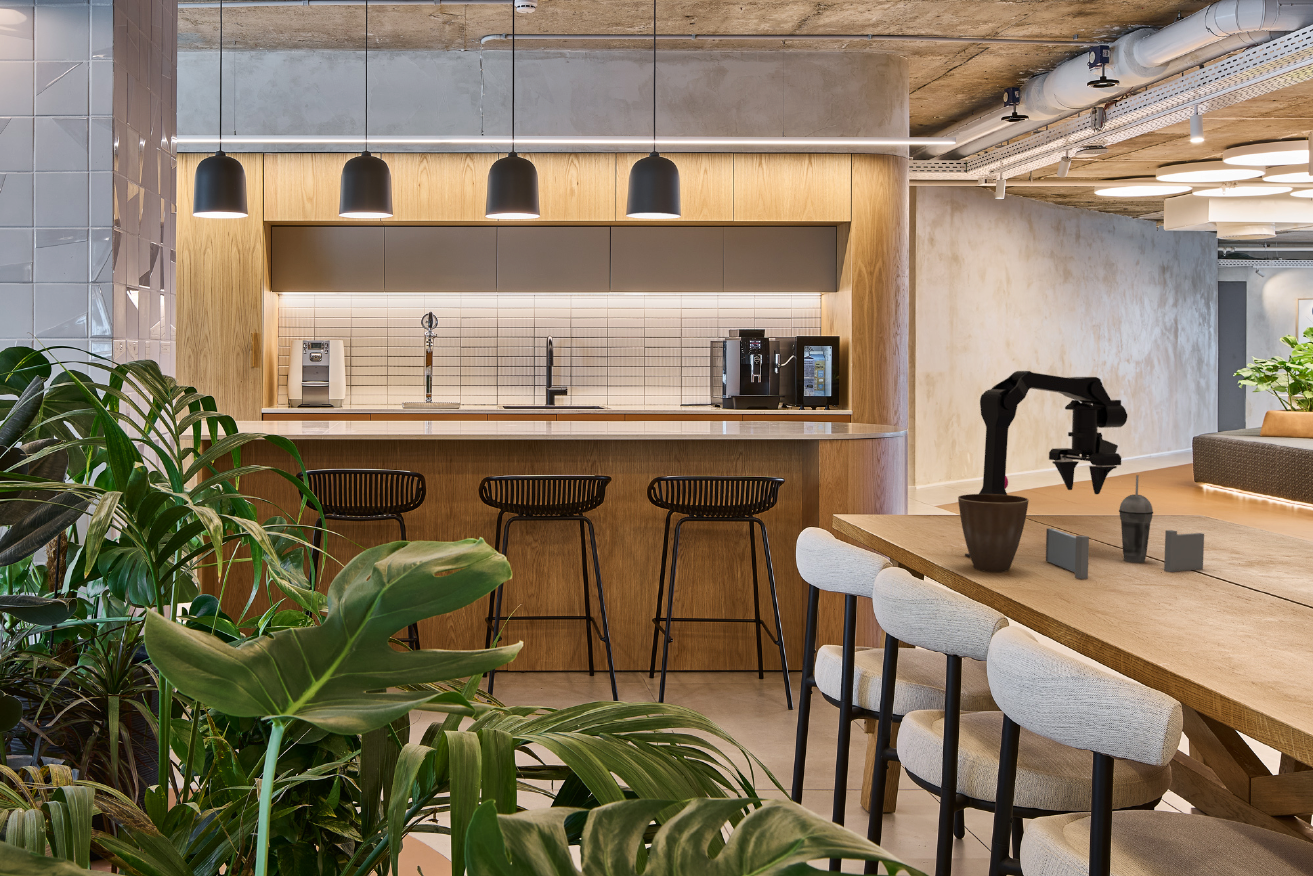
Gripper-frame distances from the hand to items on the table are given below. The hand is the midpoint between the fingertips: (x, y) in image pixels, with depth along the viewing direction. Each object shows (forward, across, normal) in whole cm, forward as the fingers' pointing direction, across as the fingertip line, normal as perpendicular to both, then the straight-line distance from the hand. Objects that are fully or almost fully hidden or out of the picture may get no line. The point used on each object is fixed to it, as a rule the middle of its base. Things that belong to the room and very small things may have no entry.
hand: (1083, 492), depth 248 cm
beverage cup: (+15, -14, -2) cm, 21 cm away
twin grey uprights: (+15, -26, +7) cm, 31 cm away
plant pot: (+15, -12, +35) cm, 40 cm away
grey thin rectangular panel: (+14, -17, +19) cm, 29 cm away
